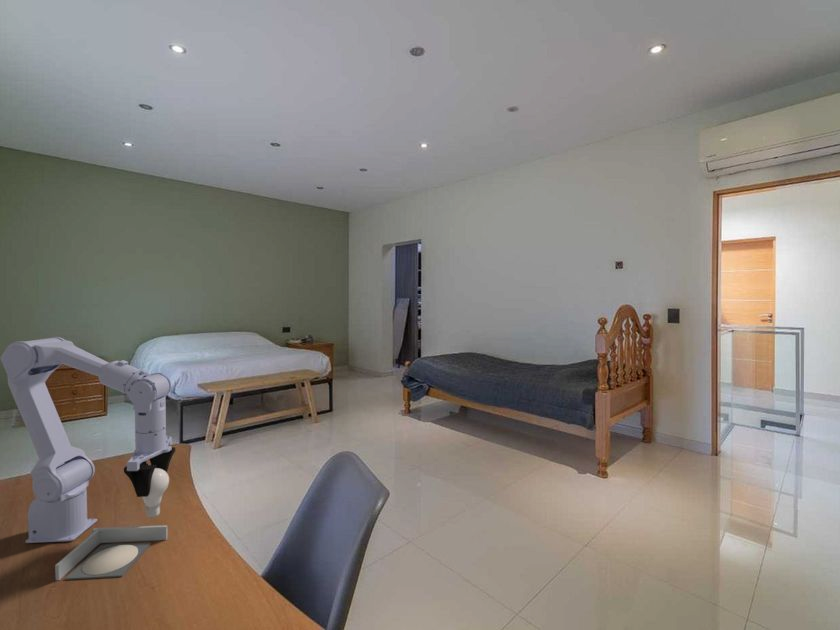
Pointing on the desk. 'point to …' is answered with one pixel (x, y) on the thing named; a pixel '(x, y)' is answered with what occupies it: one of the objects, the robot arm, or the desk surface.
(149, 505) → the lightbulb
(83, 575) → the mat
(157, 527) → the acrylic fence
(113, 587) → the desk surface
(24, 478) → the desk surface
